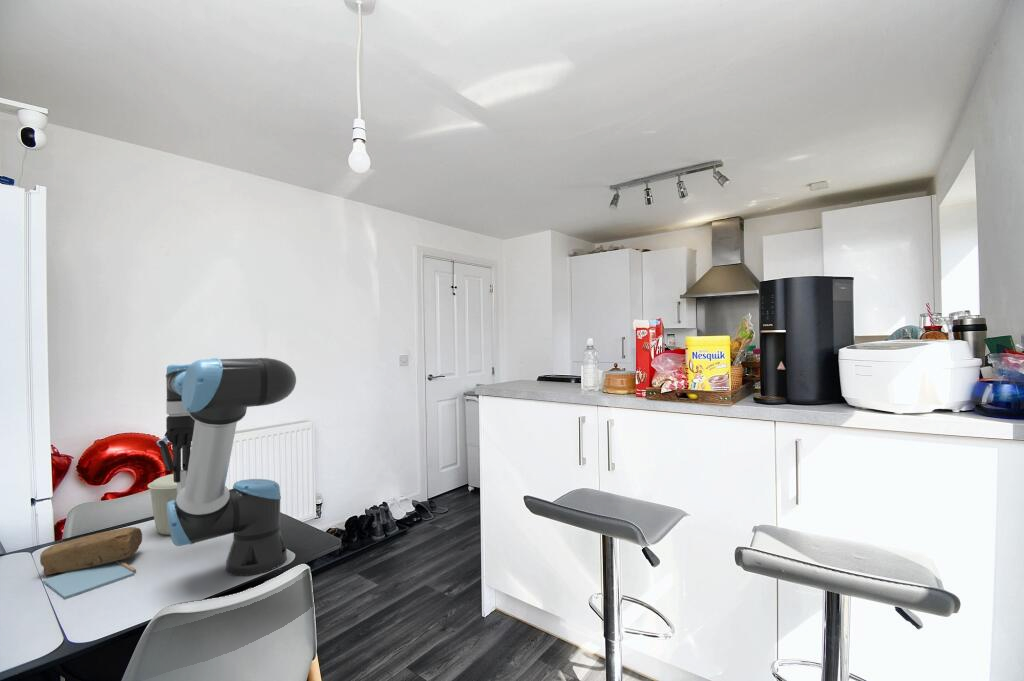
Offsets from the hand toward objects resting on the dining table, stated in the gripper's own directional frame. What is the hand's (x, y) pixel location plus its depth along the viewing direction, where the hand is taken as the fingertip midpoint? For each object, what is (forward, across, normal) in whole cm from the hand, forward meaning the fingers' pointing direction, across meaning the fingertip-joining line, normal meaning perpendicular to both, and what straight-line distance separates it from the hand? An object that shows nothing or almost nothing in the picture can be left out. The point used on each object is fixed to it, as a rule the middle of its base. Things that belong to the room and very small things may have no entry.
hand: (181, 492), depth 141 cm
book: (+18, +21, -2) cm, 28 cm away
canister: (+17, -8, -18) cm, 26 cm away
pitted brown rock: (+12, +9, -5) cm, 16 cm away
